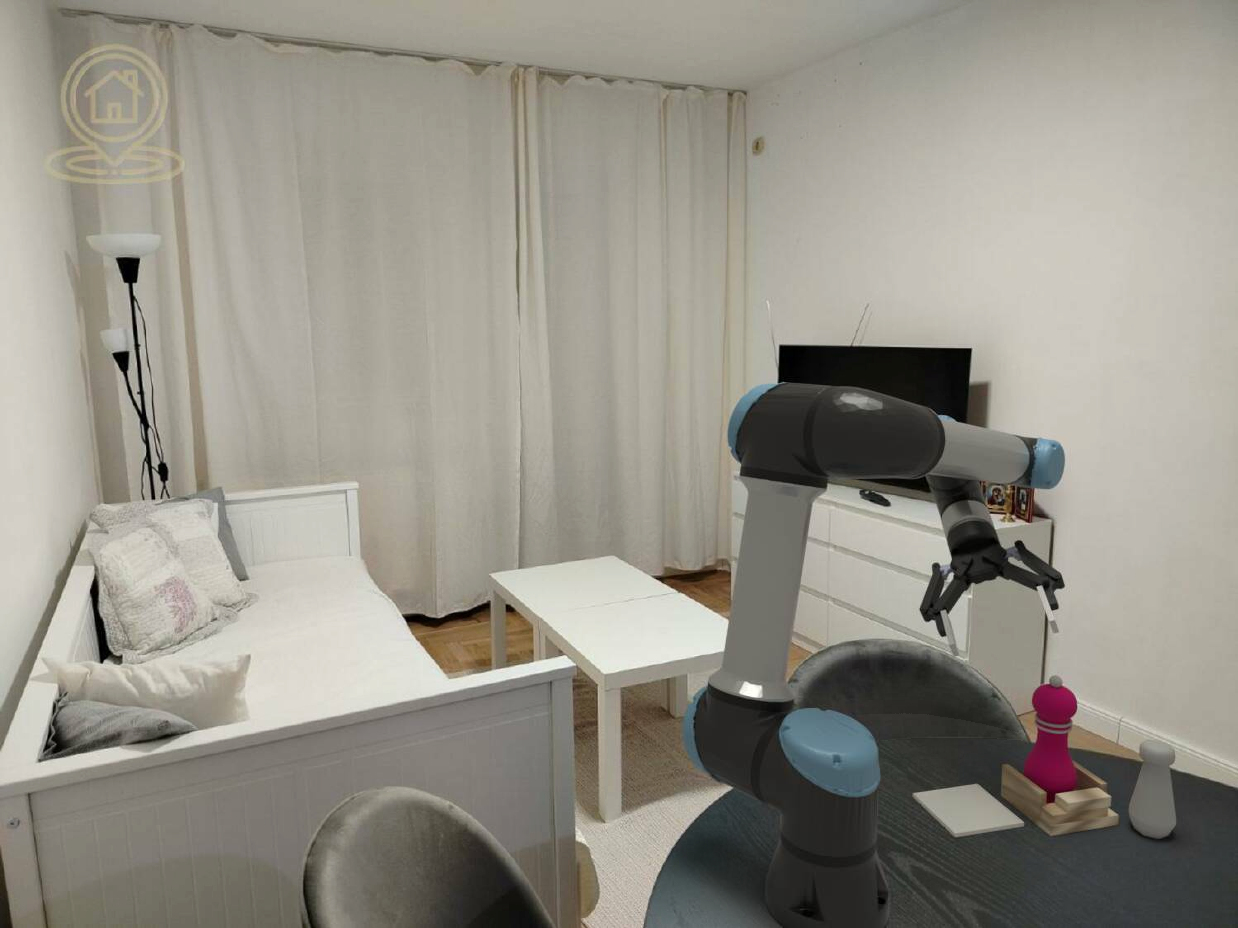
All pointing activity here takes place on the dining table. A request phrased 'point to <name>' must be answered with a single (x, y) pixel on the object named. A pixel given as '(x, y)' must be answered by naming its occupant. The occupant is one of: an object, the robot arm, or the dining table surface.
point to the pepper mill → (1052, 740)
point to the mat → (967, 810)
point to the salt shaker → (1154, 791)
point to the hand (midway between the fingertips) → (1003, 638)
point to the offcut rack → (1061, 802)
